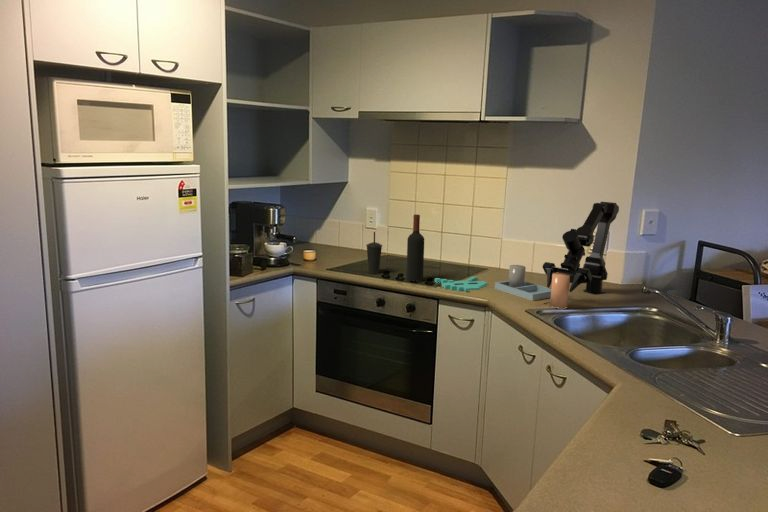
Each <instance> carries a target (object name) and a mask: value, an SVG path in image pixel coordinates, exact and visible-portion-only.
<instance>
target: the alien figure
mask: <svg viewBox="0 0 768 512" xmlns="http://www.w3.org/2000/svg"><path fill="white" fill-rule="evenodd" d="M434 281H435V282H436V283H435V282H434V283H435V284H441V286H442V287H444V288H445V289H444V288H443V289H444V290H450V289H451V290H450V291H457V290H458V292H464V291H465V292H464V293H466V292H467V293H470V291H479V290H481V289H483V288H485V287H486V286H489V283H488V282H486V281H485V280H479V279H478V276H471V277H468V278H466V279H465V280H453V279H447V278H440V277H435V278H434ZM438 282H439V283H438ZM440 282H441V283H440ZM442 287H441V288H442Z"/></svg>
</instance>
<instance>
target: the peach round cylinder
mask: <svg viewBox="0 0 768 512" xmlns="http://www.w3.org/2000/svg"><path fill="white" fill-rule="evenodd" d="M550 286H551V298H549V299H550V300H549V301H550V302H549V307H550V306H553V307H559V308H565V307H567V306H569V305H568V304H569V294H570V275H569V274H566V273H558V272H557V273H553V274H552V283H551V285H550ZM567 308H568V307H567Z"/></svg>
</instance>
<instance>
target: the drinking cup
mask: <svg viewBox="0 0 768 512" xmlns="http://www.w3.org/2000/svg"><path fill="white" fill-rule="evenodd" d="M382 248H383V244H381V243H379V242H376V231H373V242H369V243H367V244H366V254H367V256H366V257H367V267H368V270H367V271H368V274H369V273H370V275H378V273H379V274H380V265H381V257H382Z"/></svg>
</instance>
